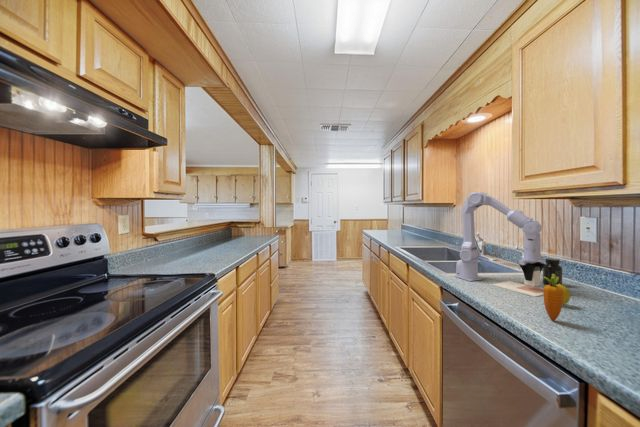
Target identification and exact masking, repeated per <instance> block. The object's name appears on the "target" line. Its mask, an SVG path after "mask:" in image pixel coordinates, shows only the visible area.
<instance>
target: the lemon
mask: <svg viewBox="0 0 640 427" xmlns="http://www.w3.org/2000/svg"><path fill="white" fill-rule="evenodd" d="M556 286H559V287H561V288H562V289H563V291H564V292H563V304H562V305H566V304H568V302H569V301H570V299H571V292H570V290H569V288H567V287H566V286H565V285H563V284H562V285H561V284H558V285H556Z"/></svg>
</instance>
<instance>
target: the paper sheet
mask: <svg viewBox="0 0 640 427" xmlns="http://www.w3.org/2000/svg"><path fill="white" fill-rule="evenodd" d="M491 286H494V287H496V288H501V289H504V290H508V291H512V292H515V293H519V294H522V295H526V296H529V297H532V298H533V297H534V298H537V297H542V296H544V293H543V289H544V288H539V287H537V286H531V285H527V284H524V283H519V282H515V281H511V280H508V281H502V282H497V283H491Z"/></svg>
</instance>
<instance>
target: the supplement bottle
mask: <svg viewBox="0 0 640 427" xmlns="http://www.w3.org/2000/svg"><path fill="white" fill-rule="evenodd" d="M560 262H561V261H560V259H557V258H545V263H544V264H545V266H544V267H543V269H542V284H543V285H544V286H546V285H550V283H549V282H548V281H547V280H546V279H544V277H547V278H548V279H549V280H551V277H552V274H555V275H556V277H559V280H558V282H557V284H556V285H558V284H561V285H563V267H562V266H561V265H560Z"/></svg>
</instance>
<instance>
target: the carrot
mask: <svg viewBox="0 0 640 427" xmlns="http://www.w3.org/2000/svg"><path fill="white" fill-rule="evenodd" d="M544 279H546V280H547V281H548V282H549V283H550V285H544V287H543V288H542V289H543V293H544V295H543V303H544V307H545V311H546V313H547V315H548V317H549V319H550V320H551V321H552V322H555V321H556V320H557V319H558V317H559V316H560V314H561V312H562V309H563V308H562V307H563V305H564V304H563V292H564V291H563V289H562V288H561V287H559V286H556V284H557V282H558V280H559V277H556V275H555V274H552V277H551V280H549V279H548V278H547V277H544Z"/></svg>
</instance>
